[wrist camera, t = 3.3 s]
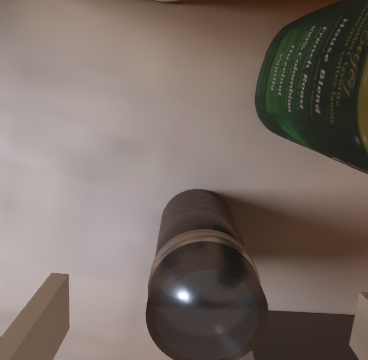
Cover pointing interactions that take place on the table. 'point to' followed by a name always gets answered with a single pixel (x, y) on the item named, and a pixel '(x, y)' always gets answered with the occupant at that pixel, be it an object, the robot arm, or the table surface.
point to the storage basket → (166, 0)
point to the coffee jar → (320, 83)
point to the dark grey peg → (203, 283)
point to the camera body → (305, 337)
